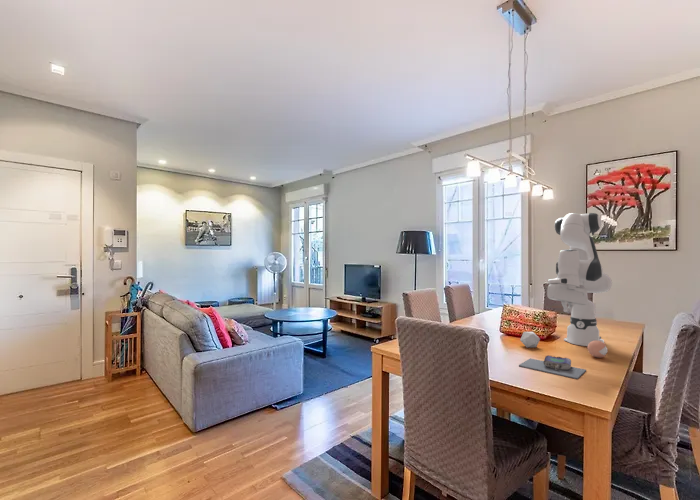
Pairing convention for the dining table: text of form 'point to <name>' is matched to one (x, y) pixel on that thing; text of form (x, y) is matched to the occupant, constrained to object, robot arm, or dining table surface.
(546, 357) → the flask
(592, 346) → the toy ball
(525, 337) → the die
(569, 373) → the mat
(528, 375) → the dining table surface
